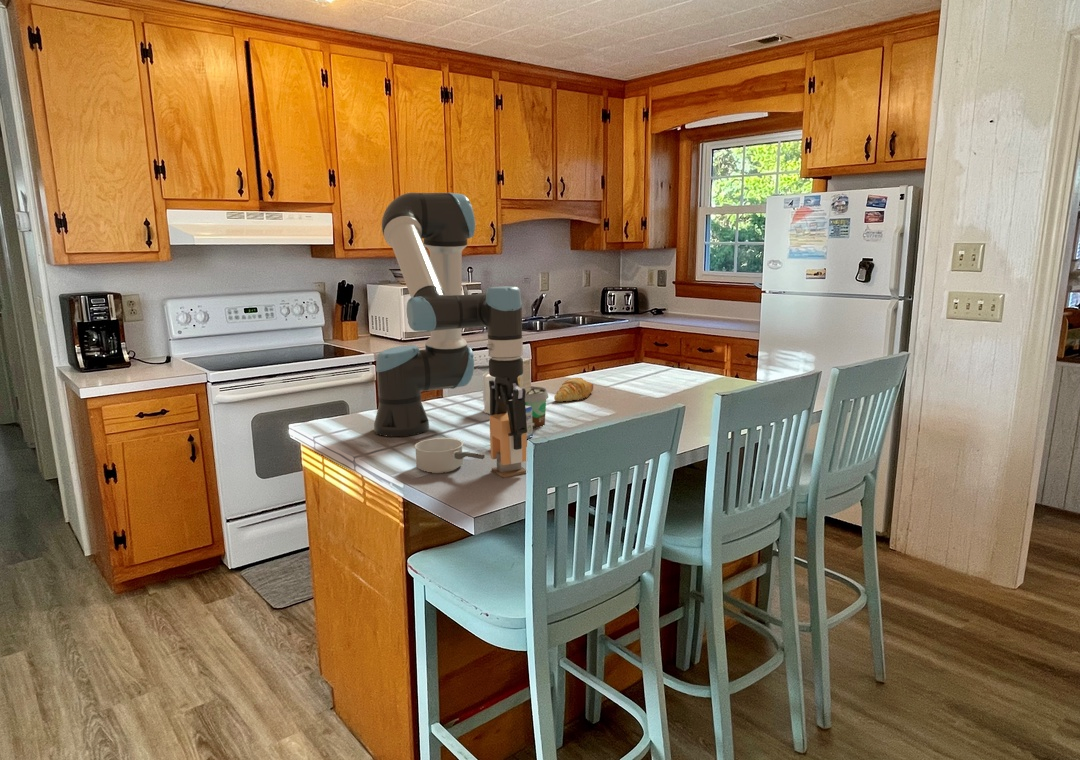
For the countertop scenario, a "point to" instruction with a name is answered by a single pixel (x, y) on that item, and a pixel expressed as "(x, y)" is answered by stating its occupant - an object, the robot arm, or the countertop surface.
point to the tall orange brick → (503, 438)
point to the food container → (537, 404)
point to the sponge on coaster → (507, 468)
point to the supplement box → (525, 376)
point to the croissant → (573, 390)
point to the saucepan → (441, 455)
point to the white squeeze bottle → (487, 391)
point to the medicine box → (529, 421)
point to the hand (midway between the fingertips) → (509, 458)
